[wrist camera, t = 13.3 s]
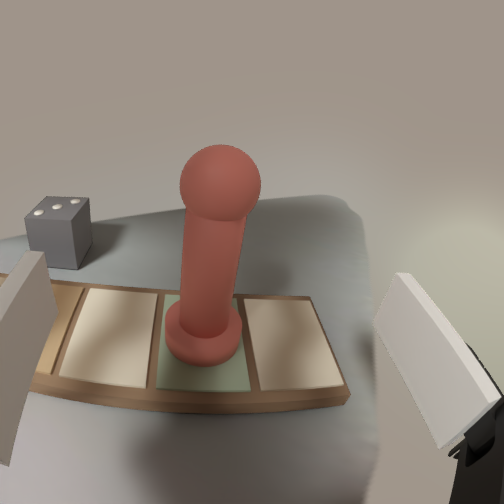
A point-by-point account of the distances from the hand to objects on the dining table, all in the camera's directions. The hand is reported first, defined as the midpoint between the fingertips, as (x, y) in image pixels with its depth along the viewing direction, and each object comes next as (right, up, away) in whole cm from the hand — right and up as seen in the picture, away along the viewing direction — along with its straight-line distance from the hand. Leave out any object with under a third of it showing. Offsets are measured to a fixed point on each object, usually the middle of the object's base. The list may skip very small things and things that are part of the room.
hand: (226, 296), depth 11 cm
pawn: (-2, -4, +9) cm, 10 cm away
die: (-18, +1, +16) cm, 24 cm away
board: (-9, -5, +9) cm, 13 cm away
